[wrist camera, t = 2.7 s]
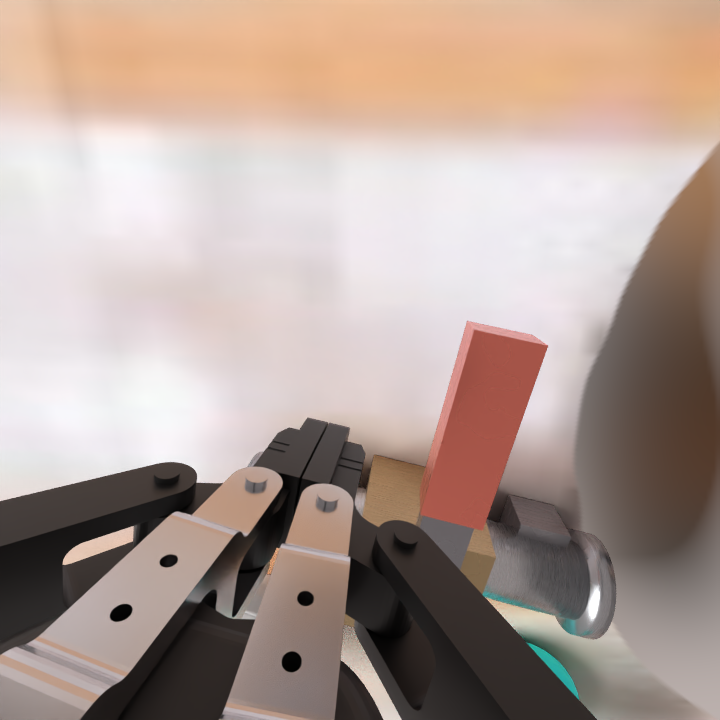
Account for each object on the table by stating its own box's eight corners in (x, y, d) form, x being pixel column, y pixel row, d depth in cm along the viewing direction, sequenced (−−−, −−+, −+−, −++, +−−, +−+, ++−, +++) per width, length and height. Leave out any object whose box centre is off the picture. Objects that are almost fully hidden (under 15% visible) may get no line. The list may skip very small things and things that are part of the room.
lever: (443, 649, 20) (447, 695, 18) (362, 627, 20) (356, 669, 18) (553, 339, 15) (576, 352, 13) (444, 315, 15) (449, 325, 13)
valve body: (270, 429, 27) (218, 494, 20) (586, 506, 25) (656, 607, 18) (259, 510, 29) (208, 596, 22) (551, 587, 27) (600, 706, 20)
